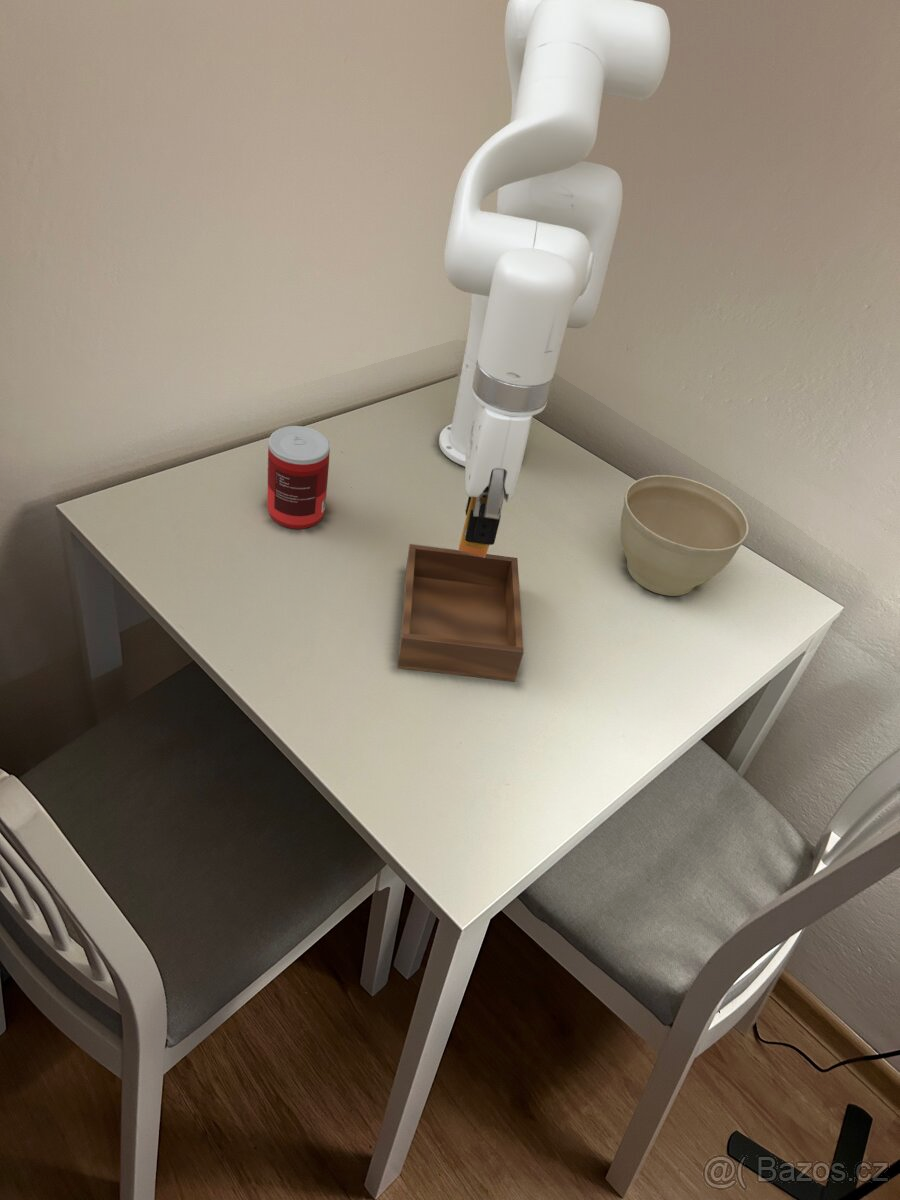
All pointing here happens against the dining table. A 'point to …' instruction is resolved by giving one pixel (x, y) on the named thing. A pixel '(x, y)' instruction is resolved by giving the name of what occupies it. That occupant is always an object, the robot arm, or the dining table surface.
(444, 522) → the dining table surface
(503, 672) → the wooden tray
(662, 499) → the planter bowl
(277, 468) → the canned food
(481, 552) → the supplement box
